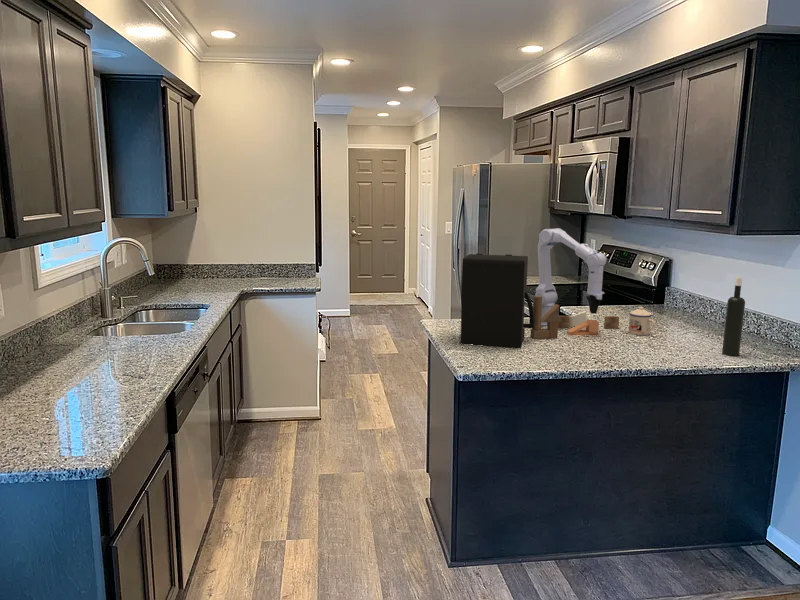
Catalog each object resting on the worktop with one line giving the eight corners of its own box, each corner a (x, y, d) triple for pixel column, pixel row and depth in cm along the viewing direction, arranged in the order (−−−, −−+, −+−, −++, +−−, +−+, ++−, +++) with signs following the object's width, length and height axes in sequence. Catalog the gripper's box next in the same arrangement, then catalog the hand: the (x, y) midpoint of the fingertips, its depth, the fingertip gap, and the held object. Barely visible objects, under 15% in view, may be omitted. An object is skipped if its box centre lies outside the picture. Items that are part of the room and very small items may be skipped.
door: (571, 327, 269) (572, 316, 268) (569, 327, 270) (569, 316, 269) (585, 322, 280) (586, 311, 280) (583, 321, 281) (583, 311, 280)
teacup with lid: (623, 332, 262) (625, 306, 260) (637, 330, 267) (639, 304, 265) (646, 338, 252) (648, 311, 250) (660, 335, 257) (663, 309, 254)
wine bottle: (719, 354, 229) (728, 276, 223) (724, 351, 233) (733, 274, 227) (736, 357, 225) (745, 278, 219) (741, 354, 229) (750, 276, 223)
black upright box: (534, 337, 252) (538, 255, 246) (531, 349, 234) (535, 260, 227) (468, 333, 260) (470, 252, 253) (460, 344, 241) (462, 258, 235)
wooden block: (557, 338, 251) (560, 296, 248) (533, 339, 250) (535, 296, 247) (554, 336, 255) (556, 294, 252) (530, 337, 253) (531, 295, 250)
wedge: (569, 335, 256) (570, 322, 255) (567, 333, 261) (567, 319, 260) (598, 335, 256) (598, 322, 255) (594, 333, 261) (595, 319, 259)
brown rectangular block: (555, 328, 269) (556, 316, 268) (554, 327, 271) (555, 315, 270) (618, 328, 269) (619, 316, 268) (617, 328, 270) (618, 316, 269)
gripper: (610, 284, 247) (608, 316, 249) (599, 279, 261) (597, 309, 264) (593, 284, 247) (590, 316, 250) (583, 279, 261) (581, 309, 264)
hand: (593, 313), depth 257 cm, fingers closed
